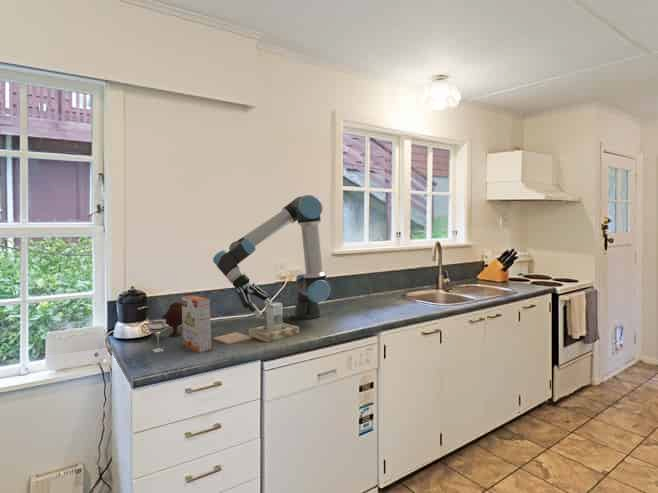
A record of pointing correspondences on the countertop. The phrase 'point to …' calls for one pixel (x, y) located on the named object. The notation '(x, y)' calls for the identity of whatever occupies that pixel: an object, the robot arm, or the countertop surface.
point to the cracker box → (196, 323)
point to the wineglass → (157, 330)
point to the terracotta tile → (232, 338)
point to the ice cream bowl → (174, 318)
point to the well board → (270, 336)
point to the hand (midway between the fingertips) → (267, 313)
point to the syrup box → (274, 316)
